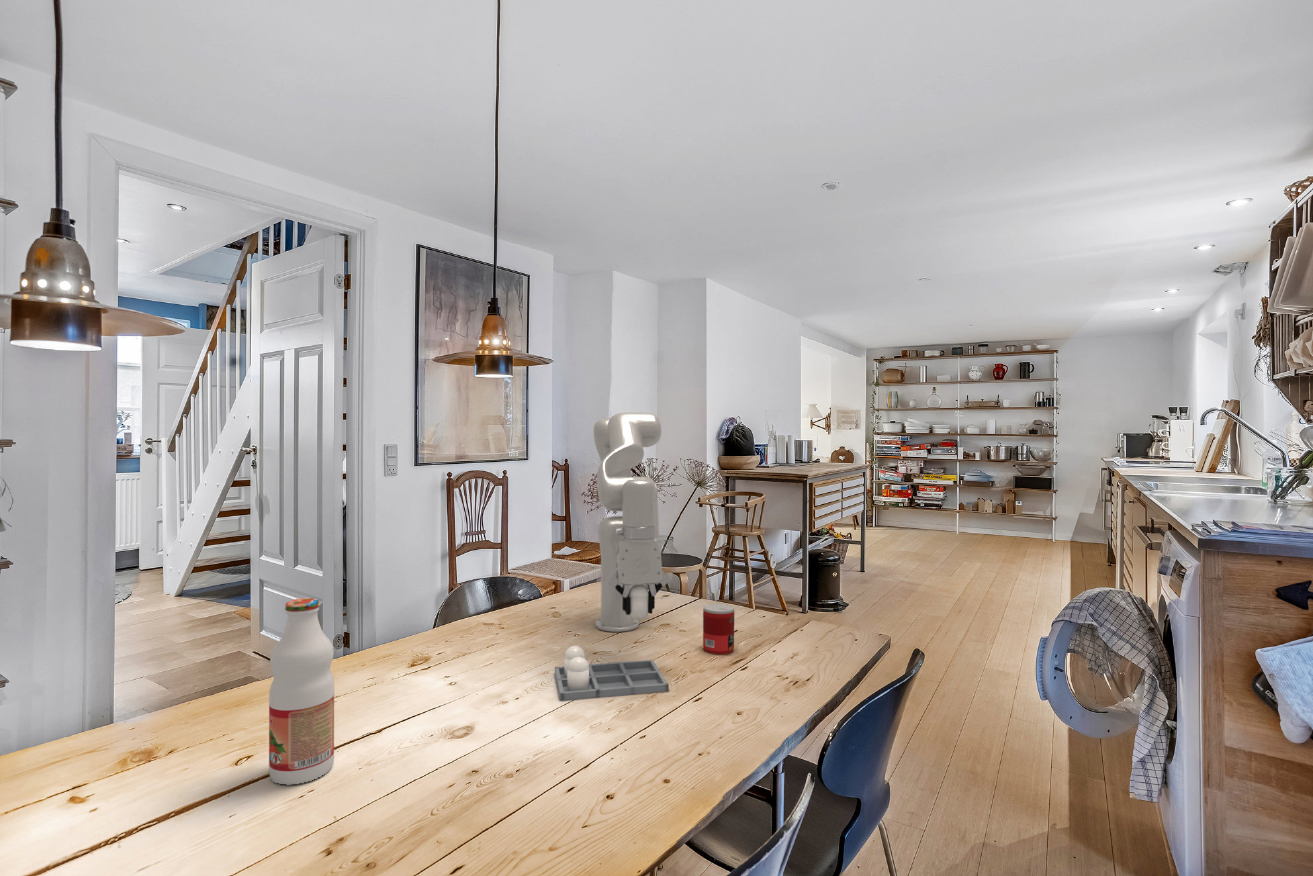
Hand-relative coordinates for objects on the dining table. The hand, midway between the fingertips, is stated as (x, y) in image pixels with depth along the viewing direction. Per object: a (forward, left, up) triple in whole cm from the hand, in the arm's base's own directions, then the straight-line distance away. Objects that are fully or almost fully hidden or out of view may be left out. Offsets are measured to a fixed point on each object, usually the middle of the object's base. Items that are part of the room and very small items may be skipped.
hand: (638, 612), depth 150 cm
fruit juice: (+30, -62, -15) cm, 71 cm away
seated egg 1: (0, -15, -14) cm, 20 cm away
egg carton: (+4, -7, -15) cm, 17 cm away
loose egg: (0, 0, -1) cm, 1 cm away
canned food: (-13, +24, -15) cm, 31 cm away
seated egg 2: (+7, -15, -14) cm, 22 cm away
